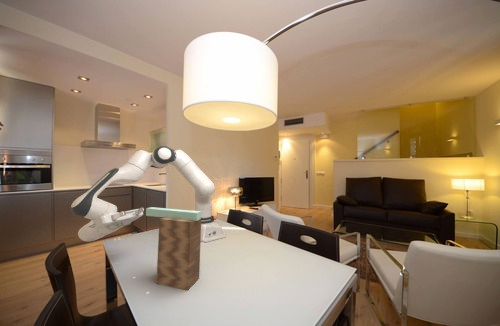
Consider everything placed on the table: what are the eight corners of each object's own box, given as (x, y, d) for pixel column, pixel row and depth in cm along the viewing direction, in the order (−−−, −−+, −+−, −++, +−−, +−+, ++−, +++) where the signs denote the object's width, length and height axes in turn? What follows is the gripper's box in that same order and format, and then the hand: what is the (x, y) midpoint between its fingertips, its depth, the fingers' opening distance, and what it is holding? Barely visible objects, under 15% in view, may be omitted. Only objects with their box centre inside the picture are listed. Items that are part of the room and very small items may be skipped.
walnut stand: (156, 283, 73) (159, 218, 74) (170, 273, 80) (172, 214, 81) (188, 290, 69) (190, 222, 70) (199, 278, 77) (201, 217, 78)
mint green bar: (145, 215, 78) (146, 208, 79) (151, 214, 81) (151, 207, 81) (196, 220, 72) (197, 212, 72) (200, 218, 75) (200, 211, 75)
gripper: (83, 220, 75) (109, 208, 73) (127, 212, 95) (149, 201, 93) (87, 236, 74) (113, 223, 72) (131, 223, 94) (153, 213, 91)
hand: (133, 211), depth 82 cm, fingers open, 8 cm apart
